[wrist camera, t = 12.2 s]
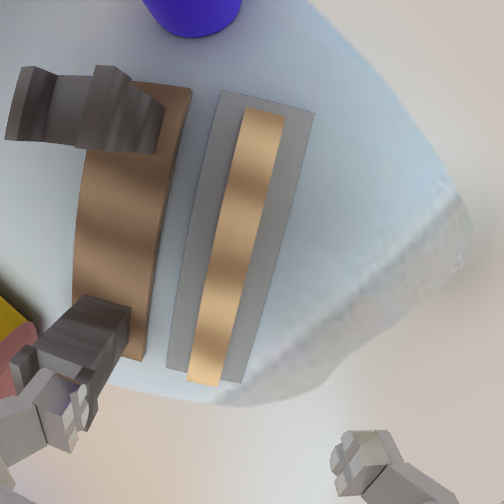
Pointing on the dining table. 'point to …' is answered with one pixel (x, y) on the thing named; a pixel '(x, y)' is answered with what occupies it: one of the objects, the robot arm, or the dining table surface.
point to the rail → (234, 242)
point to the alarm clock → (12, 343)
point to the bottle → (193, 15)
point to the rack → (103, 212)
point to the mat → (207, 221)
